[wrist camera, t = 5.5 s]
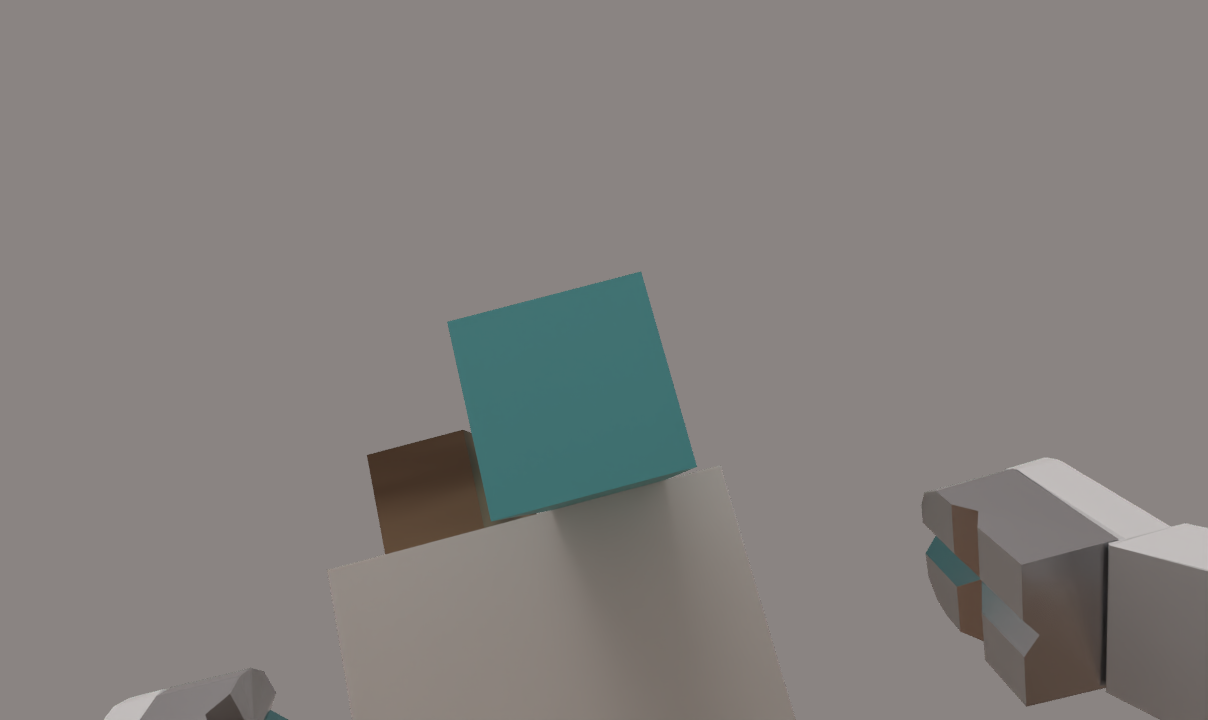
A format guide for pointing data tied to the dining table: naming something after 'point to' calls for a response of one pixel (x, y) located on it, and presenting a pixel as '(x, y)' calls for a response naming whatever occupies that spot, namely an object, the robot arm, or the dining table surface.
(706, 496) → the pedestal
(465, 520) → the walnut rail
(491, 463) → the teal bar
